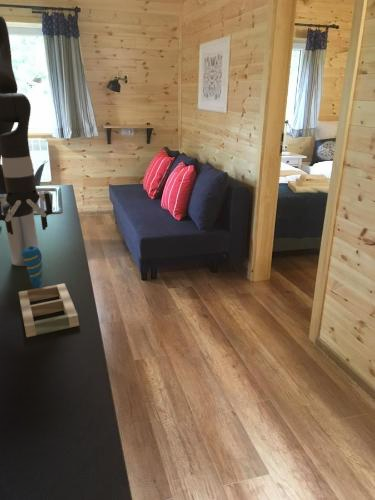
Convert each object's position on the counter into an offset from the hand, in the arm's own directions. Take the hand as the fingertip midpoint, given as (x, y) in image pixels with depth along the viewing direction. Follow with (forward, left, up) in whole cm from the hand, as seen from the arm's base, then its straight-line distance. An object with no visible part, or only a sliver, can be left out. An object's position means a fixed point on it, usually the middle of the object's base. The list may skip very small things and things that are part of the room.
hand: (28, 231), depth 118 cm
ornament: (0, 0, -19) cm, 19 cm away
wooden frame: (+15, +1, -18) cm, 24 cm away
